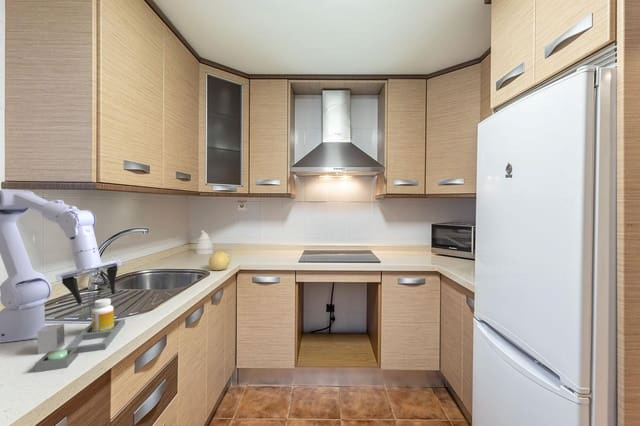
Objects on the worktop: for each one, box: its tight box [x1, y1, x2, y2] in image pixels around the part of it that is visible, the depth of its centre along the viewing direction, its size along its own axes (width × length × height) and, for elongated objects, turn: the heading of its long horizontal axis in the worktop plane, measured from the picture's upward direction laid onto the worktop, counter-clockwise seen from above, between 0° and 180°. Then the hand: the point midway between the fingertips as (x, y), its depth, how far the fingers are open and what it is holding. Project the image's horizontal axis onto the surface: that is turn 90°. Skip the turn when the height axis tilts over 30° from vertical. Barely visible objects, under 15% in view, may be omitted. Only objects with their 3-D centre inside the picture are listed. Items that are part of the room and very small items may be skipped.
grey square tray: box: [34, 348, 79, 373], centre depth 72 cm, size 6×6×2 cm
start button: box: [48, 348, 67, 360], centre depth 72 cm, size 4×4×2 cm
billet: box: [37, 323, 66, 355], centre depth 79 cm, size 4×4×6 cm
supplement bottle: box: [91, 298, 115, 333], centre depth 90 cm, size 5×5×10 cm
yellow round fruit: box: [208, 251, 232, 271], centre depth 177 cm, size 12×12×11 cm
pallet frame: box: [64, 318, 126, 354], centre depth 86 cm, size 9×18×2 cm, turn 20°
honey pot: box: [195, 230, 214, 255], centre depth 238 cm, size 13×13×18 cm
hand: (97, 298), depth 83 cm, fingers open, 7 cm apart
